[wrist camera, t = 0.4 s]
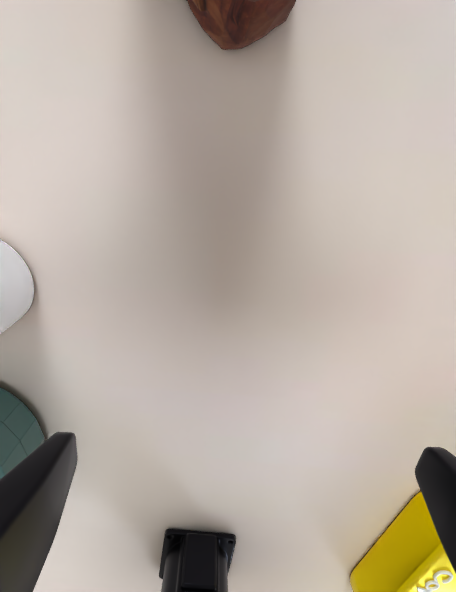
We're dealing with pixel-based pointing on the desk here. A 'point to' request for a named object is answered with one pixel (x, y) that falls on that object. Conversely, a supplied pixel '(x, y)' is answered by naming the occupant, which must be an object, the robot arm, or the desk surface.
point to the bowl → (16, 432)
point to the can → (13, 286)
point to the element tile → (406, 557)
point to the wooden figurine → (239, 19)
